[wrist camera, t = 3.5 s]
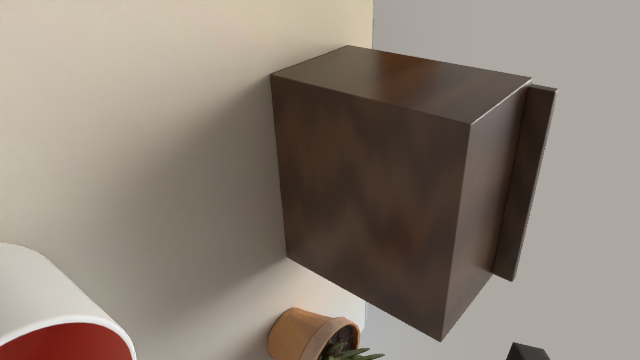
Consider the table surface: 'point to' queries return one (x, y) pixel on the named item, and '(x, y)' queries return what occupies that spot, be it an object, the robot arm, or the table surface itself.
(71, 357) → the cup
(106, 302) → the table surface
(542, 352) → the robot arm
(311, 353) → the potted plant
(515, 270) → the brown lidded box
